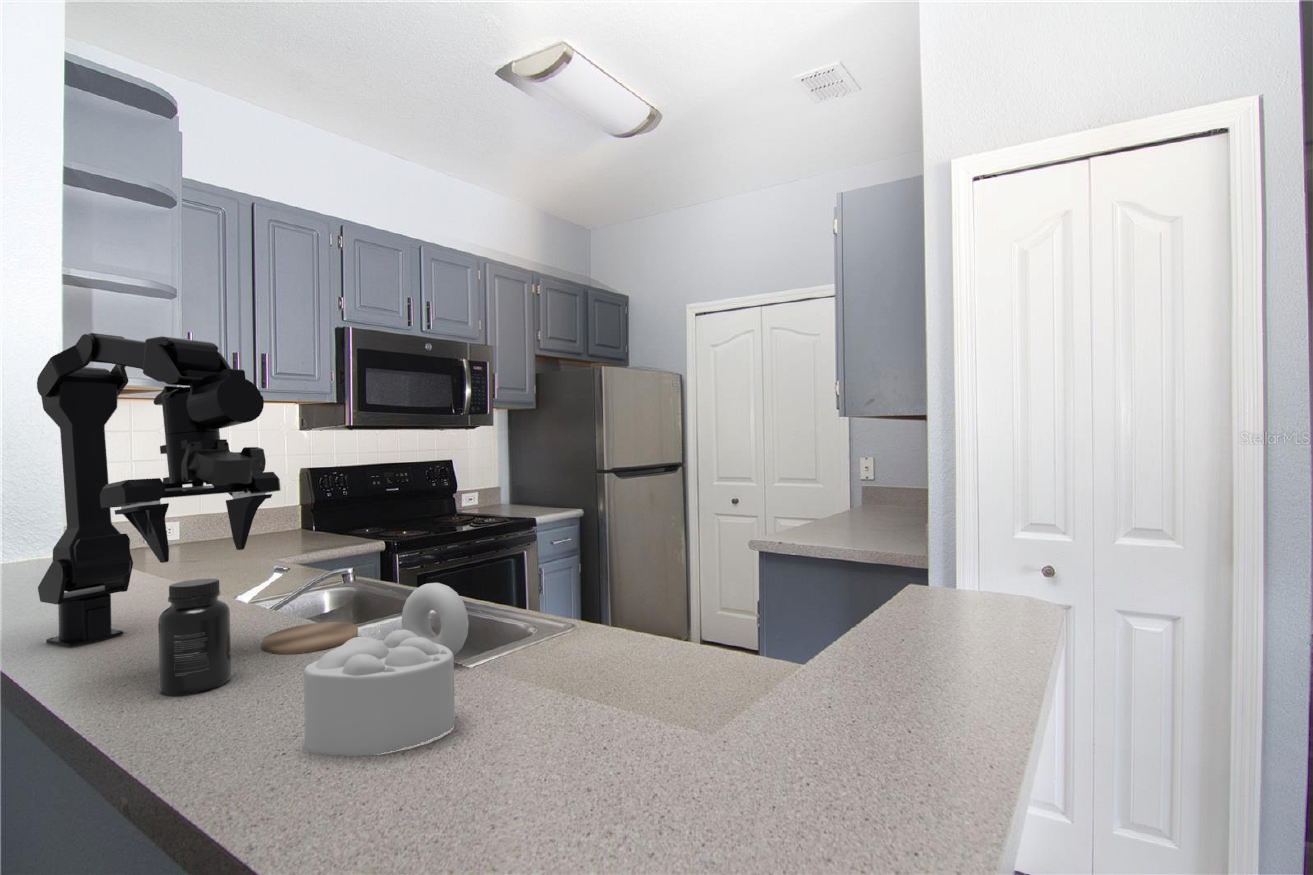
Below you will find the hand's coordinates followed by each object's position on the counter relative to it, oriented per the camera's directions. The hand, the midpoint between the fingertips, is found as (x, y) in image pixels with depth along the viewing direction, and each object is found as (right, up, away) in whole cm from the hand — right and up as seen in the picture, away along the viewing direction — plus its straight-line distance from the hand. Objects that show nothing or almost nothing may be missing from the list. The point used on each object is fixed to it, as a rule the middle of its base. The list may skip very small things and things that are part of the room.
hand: (204, 555), depth 81 cm
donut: (+30, -14, 0) cm, 33 cm away
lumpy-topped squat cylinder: (+32, -14, -19) cm, 39 cm away
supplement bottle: (+4, -14, -7) cm, 16 cm away
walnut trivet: (+9, -14, +9) cm, 19 cm away
